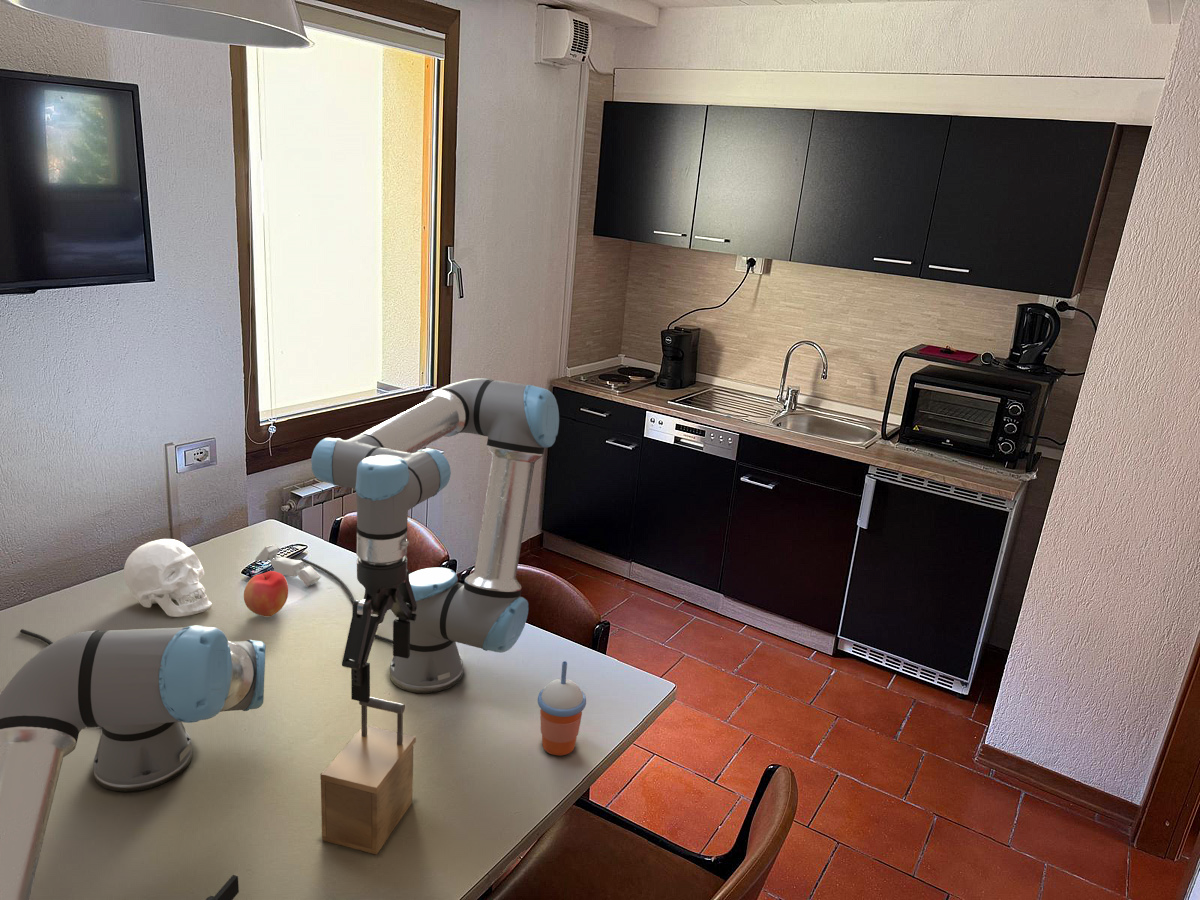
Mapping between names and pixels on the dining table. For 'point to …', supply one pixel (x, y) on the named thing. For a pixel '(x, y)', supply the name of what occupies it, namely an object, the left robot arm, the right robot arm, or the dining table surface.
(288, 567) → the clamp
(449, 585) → the right robot arm
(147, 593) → the skull
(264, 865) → the dining table surface
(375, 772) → the lid
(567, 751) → the cup with straw
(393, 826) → the chest
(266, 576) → the apple
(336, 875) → the dining table surface
